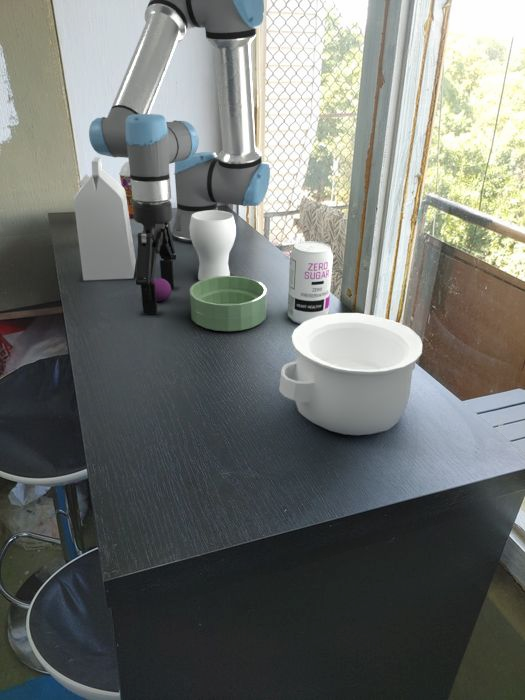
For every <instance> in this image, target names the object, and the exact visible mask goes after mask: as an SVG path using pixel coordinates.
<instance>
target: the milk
mask: <svg viewBox="0 0 525 700" xmlns="http://www.w3.org/2000/svg"><path fill="white" fill-rule="evenodd" d="M78 185H79V186H81V187H80V188H79V189H78V191H77V192H76V194H75V195H74V197H73V198H74V200H73V206H74V214H75V223H76V224H75V225H76V230H77V239H78V247H79V255H80V265H81V272H82V274H81V275H82V281H105V280H124V279H125V280H128V279H134V277H135V271H136V265H137V259H136V253H135V247H134V241H133V233H132V227H131V220H130V217H129V212H128V206H127V199H126V193H125V189H124V188H123V186H122V185H121V182H119V181H118V180H117V179H115V178H114V177H112V175H111V174H109V173H108V172H107V171H105V169H103V161H102V157H98V156H97V157H96V156H95V157H94V158H93V159H92V161H91V174H90V176H89V175H88V174H85V175H84V176H83V177H82V178H81V180H80V182H79V183H78Z"/></svg>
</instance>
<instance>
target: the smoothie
mask: <svg viewBox="0 0 525 700" xmlns="http://www.w3.org/2000/svg"><path fill="white" fill-rule="evenodd" d="M119 179H120V184H121V185H122V186H123V188H124V189H125V193H126V199H127V206H128V212H129V218H133V219H134V213H133V203H134V201H135V200H134V199H133V198H132V189H131V187H129V182H131V179H130V167H129V161H127V162H125V163H123V165H122V166H121V169H120V172H119Z"/></svg>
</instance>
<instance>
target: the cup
mask: <svg viewBox="0 0 525 700" xmlns="http://www.w3.org/2000/svg"><path fill="white" fill-rule="evenodd" d="M189 229H190V237H191V240H192V243H191V244H192V246H193V248H194V250H195V251H196V253H197V256H198V257H197V258H198V263H199V265H198V271H197V279H198V281H201V280H203V279H206V278H211V277H217V276H231V272H230V271H231V270H230V267H229V258H230V253H231V251H232V248H233V246H234V244H235V242H236V241H235V240H236V237H237V225H236V221H235V216H234V214H233V213H232V212H229V211H226V210H218V211H217V210H208V211H200V212H196V213H194V214H192V216H191V220H190V226H189Z"/></svg>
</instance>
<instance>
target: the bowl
mask: <svg viewBox="0 0 525 700" xmlns="http://www.w3.org/2000/svg"><path fill="white" fill-rule="evenodd" d="M188 291H189V306H190V307H189V308H190V318H191V320H192V321H193V322H194V323H195V324H196V325H198V326H200V327H202V328H204V329H208V330H213V331H219V332H237V331H244V330H248V329H252V328H254V327H257V326H258V325H260V324H262V323H263V322H264V321H265V320H266V317H267V308H268V307H267V306H268V305H267V303H268V289H267V287H266V285H265V284H263V282H261V281H259V280H256V279H253V278H251V277H245V276H239V275H230V276H217V277H211V278H206V279H203V280H201V281H200V280H198V281H196V282H195V283H193V284H192V285H191V286H190V288H189V290H188Z"/></svg>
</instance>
